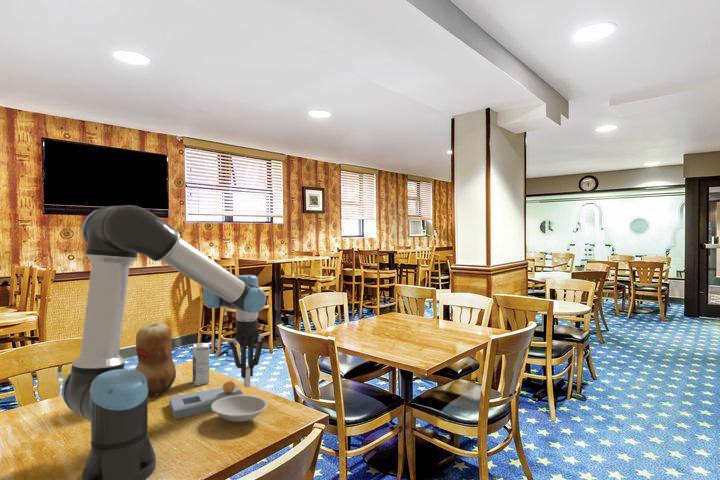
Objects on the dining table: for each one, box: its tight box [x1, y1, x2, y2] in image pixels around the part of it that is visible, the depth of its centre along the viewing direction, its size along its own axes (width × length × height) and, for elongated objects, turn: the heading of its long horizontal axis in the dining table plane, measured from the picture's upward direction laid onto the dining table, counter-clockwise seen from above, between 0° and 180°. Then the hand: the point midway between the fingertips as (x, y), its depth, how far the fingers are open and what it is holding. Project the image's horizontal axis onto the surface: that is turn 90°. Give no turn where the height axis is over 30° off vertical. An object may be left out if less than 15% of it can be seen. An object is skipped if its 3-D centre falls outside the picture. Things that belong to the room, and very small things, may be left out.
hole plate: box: [168, 384, 245, 420], centre depth 137 cm, size 12×22×2 cm, turn 122°
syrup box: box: [192, 342, 210, 387], centre depth 157 cm, size 6×6×14 cm
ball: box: [222, 380, 236, 393], centre depth 141 cm, size 4×4×4 cm
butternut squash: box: [134, 322, 177, 396], centre depth 145 cm, size 14×13×25 cm
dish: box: [211, 394, 268, 423], centre depth 125 cm, size 18×14×5 cm
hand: (246, 386), depth 144 cm, fingers closed
